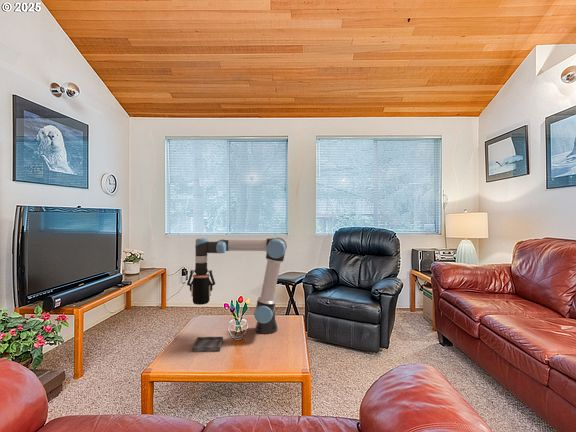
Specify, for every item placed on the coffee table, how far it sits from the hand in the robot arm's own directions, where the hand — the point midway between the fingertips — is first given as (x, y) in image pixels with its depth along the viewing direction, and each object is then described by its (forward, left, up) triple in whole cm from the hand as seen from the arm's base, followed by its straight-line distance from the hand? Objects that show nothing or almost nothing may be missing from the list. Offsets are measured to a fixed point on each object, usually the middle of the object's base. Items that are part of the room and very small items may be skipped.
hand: (201, 295), depth 219 cm
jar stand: (-8, +18, -26) cm, 32 cm away
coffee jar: (0, 0, -5) cm, 5 cm away
